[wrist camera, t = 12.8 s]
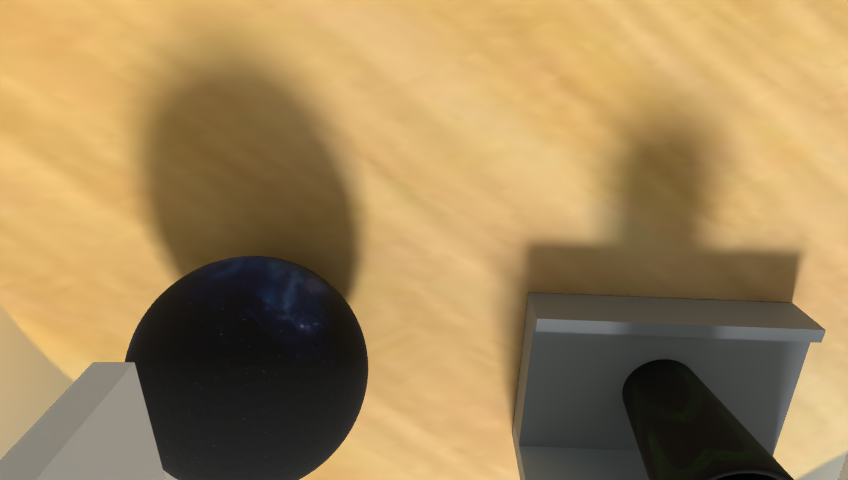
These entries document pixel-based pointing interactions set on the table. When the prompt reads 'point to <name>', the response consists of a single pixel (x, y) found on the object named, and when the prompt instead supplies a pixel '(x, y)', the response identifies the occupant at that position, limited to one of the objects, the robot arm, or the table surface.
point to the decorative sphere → (249, 371)
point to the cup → (690, 429)
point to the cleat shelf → (632, 347)
